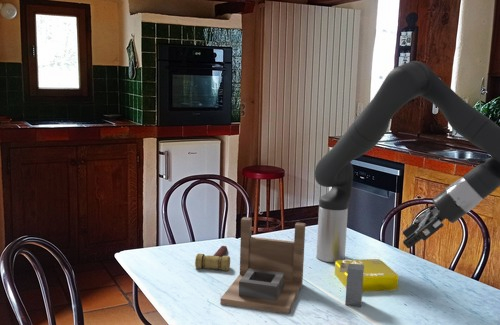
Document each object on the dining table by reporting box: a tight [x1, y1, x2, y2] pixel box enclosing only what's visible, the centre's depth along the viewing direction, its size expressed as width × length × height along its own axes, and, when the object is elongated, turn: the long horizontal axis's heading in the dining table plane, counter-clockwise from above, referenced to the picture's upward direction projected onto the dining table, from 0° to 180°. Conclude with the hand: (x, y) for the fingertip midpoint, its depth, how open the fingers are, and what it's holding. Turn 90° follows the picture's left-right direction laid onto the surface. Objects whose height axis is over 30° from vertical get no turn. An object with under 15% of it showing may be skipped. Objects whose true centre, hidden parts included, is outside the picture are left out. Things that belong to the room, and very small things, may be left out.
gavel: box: [194, 245, 231, 272], centre depth 170 cm, size 21×5×10 cm
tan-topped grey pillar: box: [339, 263, 364, 308], centre depth 140 cm, size 4×6×10 cm, turn 75°
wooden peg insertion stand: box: [219, 216, 306, 315], centre depth 143 cm, size 20×18×18 cm
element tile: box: [334, 258, 400, 292], centre depth 156 cm, size 15×15×5 cm
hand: (405, 240), depth 134 cm, fingers open, 8 cm apart
